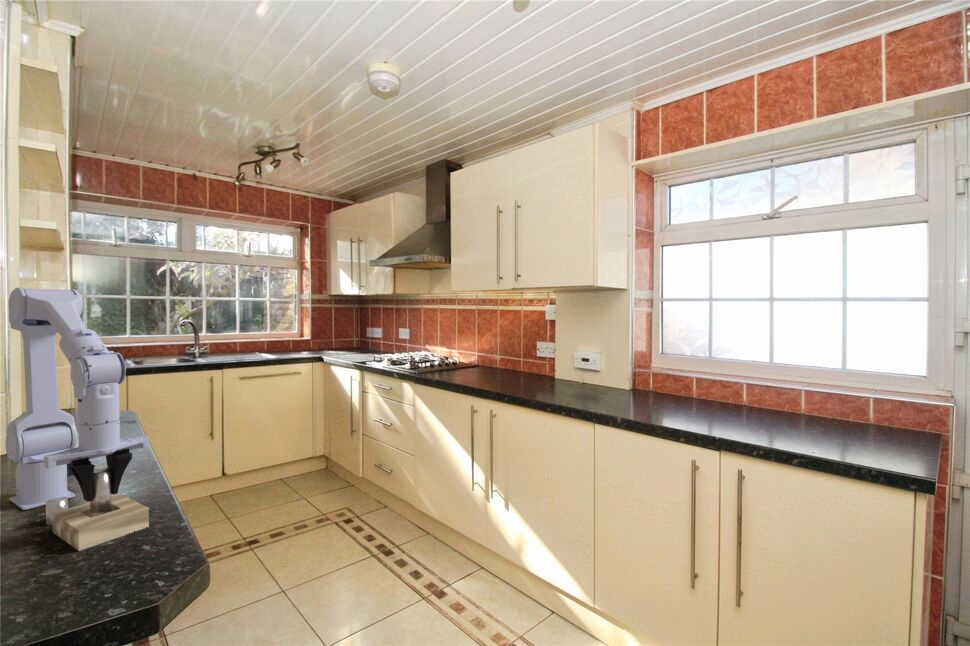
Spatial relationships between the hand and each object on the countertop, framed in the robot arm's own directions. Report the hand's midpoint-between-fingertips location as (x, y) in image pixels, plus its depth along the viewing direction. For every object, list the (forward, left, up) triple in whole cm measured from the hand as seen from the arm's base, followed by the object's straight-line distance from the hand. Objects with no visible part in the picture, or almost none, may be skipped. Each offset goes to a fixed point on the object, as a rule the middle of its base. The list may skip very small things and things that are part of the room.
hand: (101, 496), depth 82 cm
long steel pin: (0, 0, -2) cm, 2 cm away
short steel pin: (-11, -3, -6) cm, 13 cm away
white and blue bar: (-51, +11, -7) cm, 52 cm away
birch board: (0, 0, -6) cm, 6 cm away
